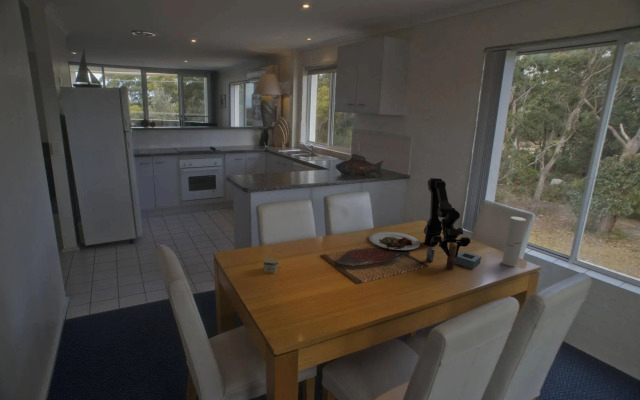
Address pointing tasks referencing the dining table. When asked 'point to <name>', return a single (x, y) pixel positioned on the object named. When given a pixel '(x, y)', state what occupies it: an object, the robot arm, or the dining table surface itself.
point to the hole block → (467, 259)
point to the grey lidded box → (270, 265)
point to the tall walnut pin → (451, 255)
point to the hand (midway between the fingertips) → (452, 256)
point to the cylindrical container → (513, 241)
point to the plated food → (394, 240)
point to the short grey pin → (430, 254)
